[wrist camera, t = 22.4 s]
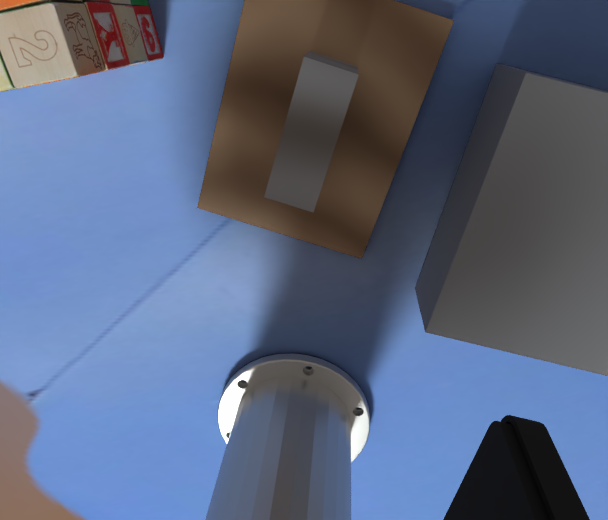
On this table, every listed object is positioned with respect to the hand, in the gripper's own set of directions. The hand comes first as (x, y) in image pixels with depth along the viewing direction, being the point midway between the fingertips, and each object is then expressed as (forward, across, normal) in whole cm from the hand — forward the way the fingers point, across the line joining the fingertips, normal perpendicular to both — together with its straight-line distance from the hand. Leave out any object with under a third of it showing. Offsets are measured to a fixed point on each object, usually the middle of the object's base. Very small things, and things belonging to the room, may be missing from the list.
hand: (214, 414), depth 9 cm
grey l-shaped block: (+28, -19, +2) cm, 34 cm away
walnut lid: (+29, 0, 0) cm, 29 cm away
